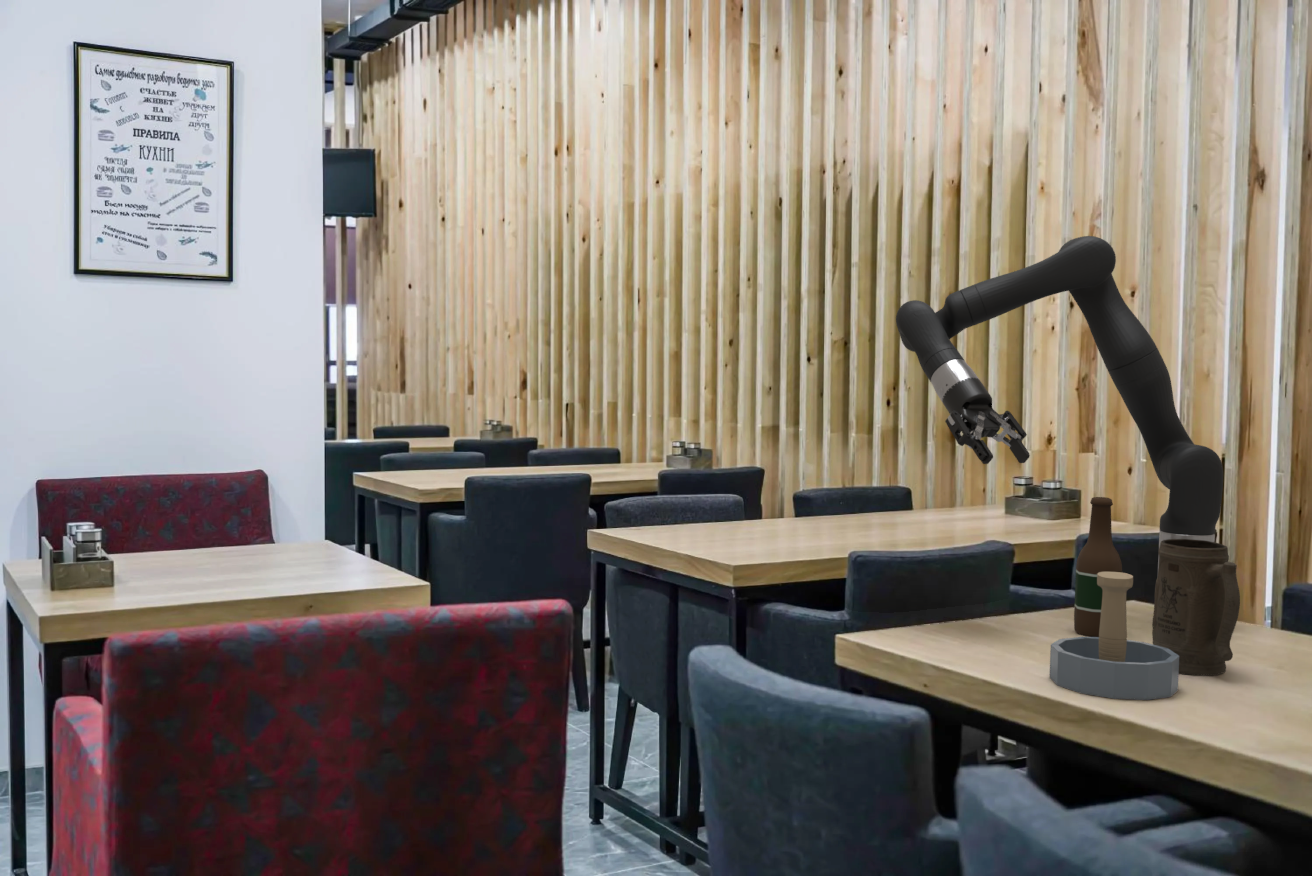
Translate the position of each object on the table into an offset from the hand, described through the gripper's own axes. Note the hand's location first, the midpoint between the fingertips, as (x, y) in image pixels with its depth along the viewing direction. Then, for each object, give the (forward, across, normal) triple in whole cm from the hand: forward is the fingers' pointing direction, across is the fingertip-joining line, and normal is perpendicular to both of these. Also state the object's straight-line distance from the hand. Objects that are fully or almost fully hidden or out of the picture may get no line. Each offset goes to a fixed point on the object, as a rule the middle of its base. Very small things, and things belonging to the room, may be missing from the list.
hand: (1007, 460), depth 200 cm
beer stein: (+42, +12, +1) cm, 44 cm away
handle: (+41, -7, +1) cm, 41 cm away
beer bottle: (+24, +20, +19) cm, 37 cm away
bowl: (+42, -7, +2) cm, 42 cm away
